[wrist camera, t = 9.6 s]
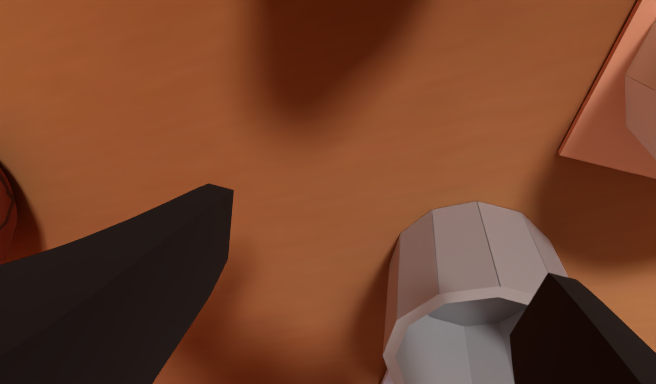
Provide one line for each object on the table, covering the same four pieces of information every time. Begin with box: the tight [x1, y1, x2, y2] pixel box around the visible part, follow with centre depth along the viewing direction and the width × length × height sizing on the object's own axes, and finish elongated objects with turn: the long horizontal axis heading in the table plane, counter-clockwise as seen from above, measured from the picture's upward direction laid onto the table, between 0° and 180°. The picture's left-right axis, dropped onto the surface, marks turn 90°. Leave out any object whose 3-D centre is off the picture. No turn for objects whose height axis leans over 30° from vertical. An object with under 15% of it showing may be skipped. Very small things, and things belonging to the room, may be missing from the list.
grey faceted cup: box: [383, 201, 569, 384], centre depth 19 cm, size 8×8×6 cm
